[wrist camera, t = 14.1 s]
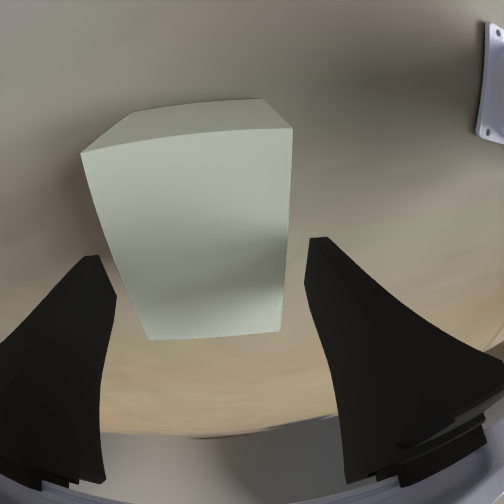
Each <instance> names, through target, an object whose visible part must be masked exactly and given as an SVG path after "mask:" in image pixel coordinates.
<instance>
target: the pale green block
mask: <svg viewBox="0 0 504 504" xmlns="http://www.w3.org/2000/svg"><path fill="white" fill-rule="evenodd" d="M292 136H293V128H292V127H291V126H290V125H289V124H288V123H287V122H286V121H285V120H284V119H283V118H282V117H281V116H280V115H279V114H278V113H277V112H276V111H275V110H274V109H273V108H272V107H271V106H270V105H269V104H268V103H266V102H265V101H264V100H263V99H241V100H224V101H211V102H200V103H191V104H183V105H175V106H168V107H161V108H155V109H149V110H143V111H137V112H132V113H130V114H129V115H127V116H126V117H125V118H123V119H122V120H121V121H119V122H118V123H117V124H115V125H114V126H113V127H111V128H110V129H109V130H108V131H106V132H105V133H104V134H102V135H101V136H100V137H99V138H98V139H96V140H95V141H94V142H93V143H92V144H90V145H89V146H88V147H87V148H86V149H85V150H83V151H82V152H81V153H80V154H81V159H82V162H83V166H84V170H85V174H86V178H87V181H88V185H89V188H90V192H91V195H92V198H93V202H94V205H95V208H96V211H97V214H98V217H99V220H100V223H101V226H102V229H103V232H104V235H105V238H106V241H107V243H108V246H109V249H110V251H111V254H112V257H113V259H114V262H115V264H116V267H117V269H118V272H119V274H120V277H121V279H122V282H123V284H124V286H125V289H126V291H127V293H128V296H129V298H130V300H131V302H132V305H133V307H134V309H135V311H136V313H137V315H138V318H139V320H140V322H141V324H142V326H143V328H144V330H145V332H146V334H147V336H148V338H149V340H174V339H194V338H210V337H223V336H236V335H247V334H257V333H266V332H275V331H280V327H281V316H282V304H283V292H284V280H285V267H286V253H287V238H288V222H289V204H290V185H291V163H292Z"/></svg>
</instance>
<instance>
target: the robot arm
mask: <svg viewBox="0 0 504 504" xmlns="http://www.w3.org/2000/svg"><path fill="white" fill-rule="evenodd" d="M476 134H477V136H479V137H481V138H483V139H486V140H490V141H493V142H497V143H500V144H503V145H504V30H502V29H501V28H500V27H498V26H497V25H495V24H494V23H492V22H486V24H485V58H484V72H483V83H482V91H481V99H480V106H479V112H478V118H477V124H476ZM304 285H305V290H306V295H307V299H308V304H309V308H310V311H311V314H312V317H313V320H314V323H315V326H316V329H317V332H318V335H319V338H320V341H321V343H322V346H323V349H324V352H325V355H326V358H327V361H328V365H329V368H330V372H331V376H332V381H333V386H334V391H335V396H336V402H337V408H338V414H339V421H340V428H341V436H342V445H343V456H344V472H345V473H344V474H345V479H346V483H347V484H350V483H354V482H357V481H361V480H364V479H367V478H370V477H373V476H376V480H377V482H376V483H373V484H370V485H367V486H364V487H360V488H357V489H354V490H350V491H347V492H343V493H340V494H335V495H332V496H327V497H323V498H319V499H313V500H309V501H303V502H298V503H291V504H493V503H494V502H495V501H496V500H497V499H498V498H499V497H500V496H501V495H502V494H504V416H503V417H502V418H500V419H499V420H497V421H496V422H495V423H493V424H492V425H490V426H489V427H487V428H486V429H484V430H483V428H482V425H481V424H482V423H484V422H485V420H486V419H485V416H484V413H483V412H484V411H485V410H487V409H488V408H489V407H491V406H492V405H493V404H495V403H496V402H497V401H498V400H500V399H501V398H502V397H503V396H504V363H503V362H502V360H499V359H497V358H495V357H493V356H490V355H488V354H486V353H484V352H481V351H479V350H477V349H475V348H473V347H471V346H469V345H467V344H465V343H463V342H461V341H459V340H458V339H456V338H454V337H452V336H451V335H449V334H447V333H445V332H444V331H442V330H441V329H439V328H437V327H436V326H434V325H433V324H431V323H429V322H428V321H426V320H425V319H423V318H422V317H421V316H419V315H418V314H416V313H415V312H414V311H412V310H411V309H410V308H408V307H407V306H405V305H404V304H403V303H401V302H400V301H399V300H398V299H396V298H395V297H394V296H393V295H391V294H390V293H389V292H388V291H387V290H385V289H384V288H383V287H382V286H381V285H379V284H378V283H377V282H376V281H375V280H374V279H372V278H371V277H370V276H369V275H368V274H367V273H366V272H365V271H364V270H363V269H361V268H360V267H359V266H358V265H357V264H356V263H355V262H354V261H353V260H352V259H351V258H350V257H349V256H347V255H346V254H345V253H344V252H343V251H342V250H341V249H340V248H339V247H338V246H337V245H336V244H335V243H334V242H333V241H331V240H330V239H329V238H328V237H319V238H310V242H309V249H308V257H307V265H306V272H305V279H304ZM116 299H117V295H116V293H115V291H114V289H113V287H112V285H111V282H110V280H109V278H108V276H107V273H106V271H105V269H104V266H103V264H102V262H101V259H100V257H99V255H93V256H84V257H83V258H82V259H81V260H80V261H79V262H78V263H77V264H76V265H75V266H74V267H73V268H72V269H71V270H70V271H69V272H68V273H67V274H66V275H65V276H64V277H63V278H62V279H61V280H60V282H59V283H58V284H57V285H56V286H55V287H54V288H53V289H52V290H51V291H50V293H49V294H48V295H47V296H46V297H45V298H44V299H43V300H42V301H41V302H40V304H39V305H38V306H37V307H36V308H35V309H34V310H33V311H32V312H31V313H30V315H29V316H28V317H27V318H26V319H25V320H24V321H23V322H22V323H21V324H20V325H19V326H18V327H17V328H16V329H15V330H14V331H13V332H12V333H11V334H10V335H9V336H8V337H7V338H6V339H5V340H4V341H3V342H1V343H0V504H132V503H127V502H121V501H116V500H111V499H106V498H102V497H98V496H93V495H90V494H86V493H82V492H79V491H75V490H72V489H69V482H70V483H74V484H79V479H81V480H84V481H88V482H92V483H97V484H101V483H103V482H104V481H105V480H106V475H105V470H104V465H103V458H102V452H101V441H100V424H99V404H100V385H101V378H102V372H103V367H104V362H105V357H106V353H107V348H108V344H109V340H110V335H111V331H112V327H113V322H114V315H115V308H116Z"/></svg>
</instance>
